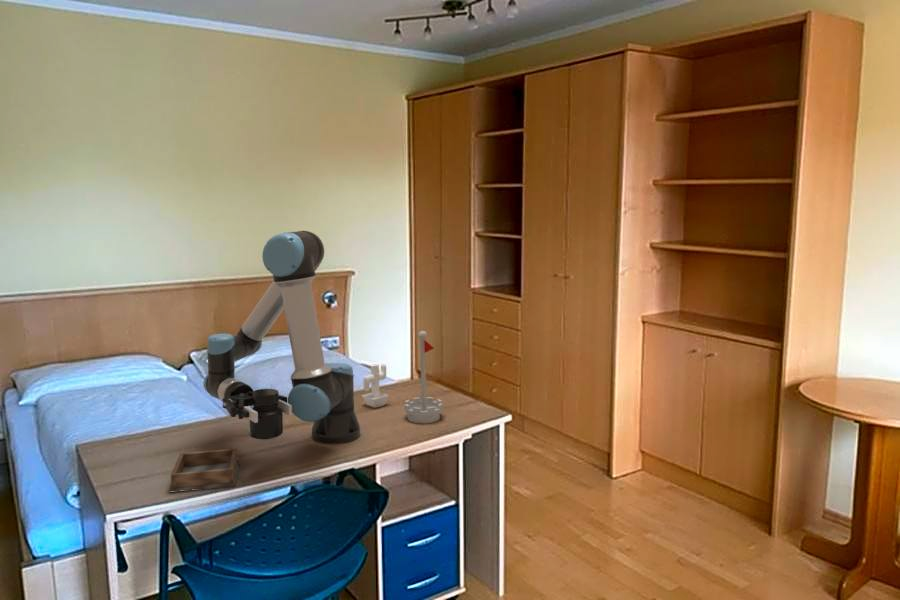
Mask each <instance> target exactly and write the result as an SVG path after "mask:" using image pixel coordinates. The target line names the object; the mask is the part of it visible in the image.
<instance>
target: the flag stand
mask: <svg viewBox="0 0 900 600" xmlns="http://www.w3.org/2000/svg"><path fill="white" fill-rule="evenodd" d="M427 337H428V332H426V331H425V330H421V331H419V333H418V338H419V340H420V383H421V384H420V395H421V396H419V397H418V396H417V397H413V398H412V401H411V400H410V399H407V400H405V401H404V407H403V408H404V409H403V411H404V412H405V413H406V414H407V420H408V421H409V422H411V423H415V424H416V423H417V424H430V423H434V422H437V421H439V420H440V419H441V412H442V411H443V410H444V405H443V400H442V399H440V398H438V399H436V400H434V398H435V397H432V396H426V395H427V394H426V393H427V388H426V387H427V386H426V385H427V384H426V375H427V374H426V373H427V372H426V353H427V352H429V351H431V350H434V349H435V348H434V347H433V346H432V344H430V343H429V342H427V341H426V339H427Z"/></svg>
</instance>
